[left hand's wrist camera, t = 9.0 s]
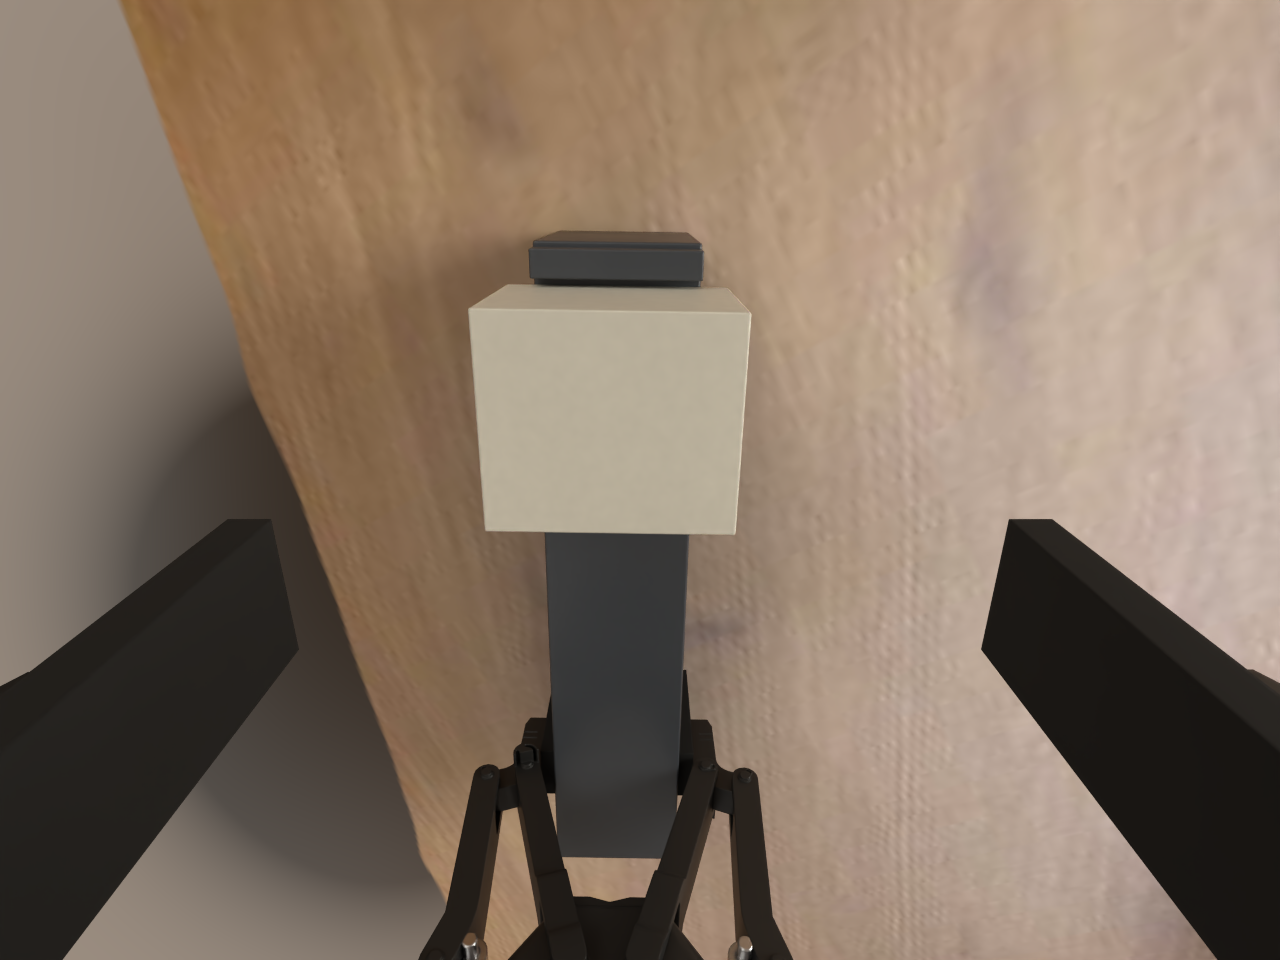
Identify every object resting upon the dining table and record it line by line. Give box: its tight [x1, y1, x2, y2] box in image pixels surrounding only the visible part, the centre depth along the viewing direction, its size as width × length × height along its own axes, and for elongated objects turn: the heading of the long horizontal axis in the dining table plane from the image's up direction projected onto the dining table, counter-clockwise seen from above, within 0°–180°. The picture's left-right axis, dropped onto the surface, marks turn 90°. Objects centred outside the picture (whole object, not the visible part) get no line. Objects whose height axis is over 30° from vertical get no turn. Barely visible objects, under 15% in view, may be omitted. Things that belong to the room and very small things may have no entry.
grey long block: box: [529, 231, 704, 859], centre depth 34 cm, size 30×6×9 cm, turn 179°
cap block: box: [468, 284, 751, 535], centre depth 24 cm, size 7×8×6 cm
